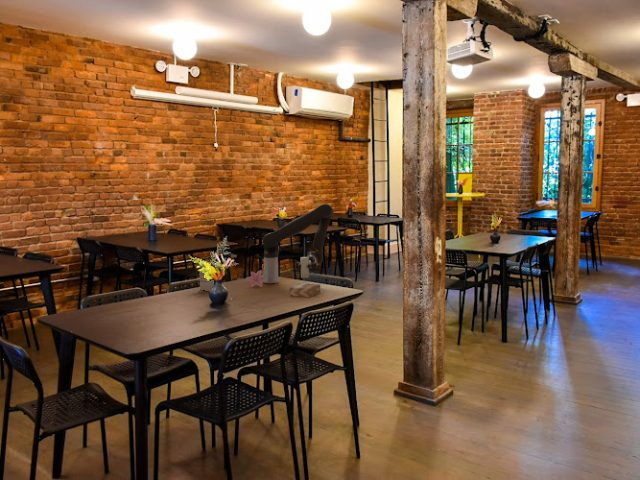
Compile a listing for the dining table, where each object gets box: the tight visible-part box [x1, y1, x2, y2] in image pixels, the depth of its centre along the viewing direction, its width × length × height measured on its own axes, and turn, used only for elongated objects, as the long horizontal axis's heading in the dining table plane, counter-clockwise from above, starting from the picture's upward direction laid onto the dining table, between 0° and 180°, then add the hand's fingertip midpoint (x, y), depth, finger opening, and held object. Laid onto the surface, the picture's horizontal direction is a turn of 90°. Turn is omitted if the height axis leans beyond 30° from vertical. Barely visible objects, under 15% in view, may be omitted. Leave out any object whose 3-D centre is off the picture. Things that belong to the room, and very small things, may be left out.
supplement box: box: [199, 262, 214, 292], centre depth 376 cm, size 10×9×17 cm
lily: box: [245, 269, 266, 288], centre depth 387 cm, size 12×12×10 cm
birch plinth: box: [288, 282, 321, 298], centre depth 359 cm, size 14×14×5 cm
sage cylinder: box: [299, 256, 310, 279], centre depth 357 cm, size 5×5×12 cm
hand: (303, 266), depth 355 cm, fingers closed on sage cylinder, 5 cm apart
